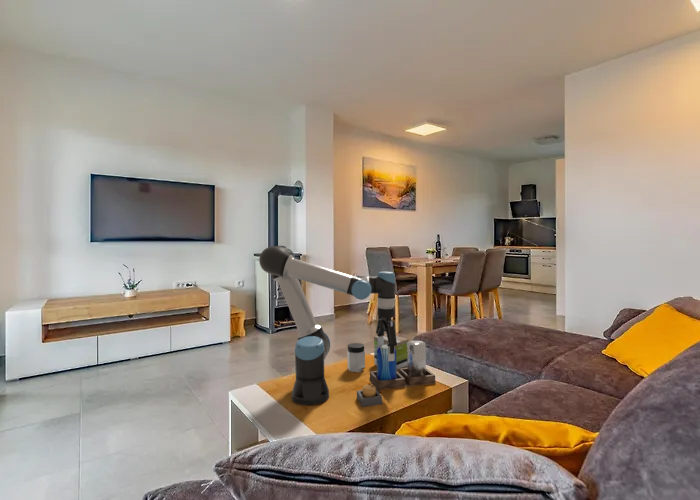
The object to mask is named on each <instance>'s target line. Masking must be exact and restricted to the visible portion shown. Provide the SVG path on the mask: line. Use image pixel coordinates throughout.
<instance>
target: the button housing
mask: <svg viewBox="0 0 700 500" xmlns="http://www.w3.org/2000/svg"><path fill="white" fill-rule="evenodd" d="M356 400H357V401H358V403H359V404H360V406H361V408H366V407H371V406H372V407H373V406H380V405H381V406H382V405H383V397H382V395H381V394H379V392H378V391H377V390H376V396H375V397H367V398H366V397H364V396H363V389H360V390H356Z"/></svg>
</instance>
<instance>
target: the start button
mask: <svg viewBox="0 0 700 500" xmlns="http://www.w3.org/2000/svg"><path fill="white" fill-rule="evenodd" d="M362 390H363V396H364V397H366V398H367V397H375V396H376V387H375V386H373V385H372V384H365V385H363V386H362Z"/></svg>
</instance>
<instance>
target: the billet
mask: <svg viewBox="0 0 700 500" xmlns="http://www.w3.org/2000/svg"><path fill="white" fill-rule="evenodd" d="M426 346H427V345H426V342H425V341H422V340H408V342H407V364H408V365H407V368H408V375H409V376H410V377H418V376H426V369H427V367H426V366H427V364H426V361H427V360H426V359H427V357H426V355H427V353H426V351H427V349H426Z"/></svg>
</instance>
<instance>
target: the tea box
mask: <svg viewBox="0 0 700 500" xmlns="http://www.w3.org/2000/svg"><path fill="white" fill-rule="evenodd" d="M396 340H397V345H396V346H395V350H396V371H398V370H399V369H400V368H406V367H408V364H407V342H409V339H408V338H405V337H401V336H398V335H396ZM392 343H393V342H392ZM384 344H389V343H388V339H387V334H386V333H384ZM373 349H374V351H373V353H374V354H373V357H374V360H373V361H374V362H373V363H374V365H375V366H377V350H378V336H377V335H376V336H374V338H373Z"/></svg>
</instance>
